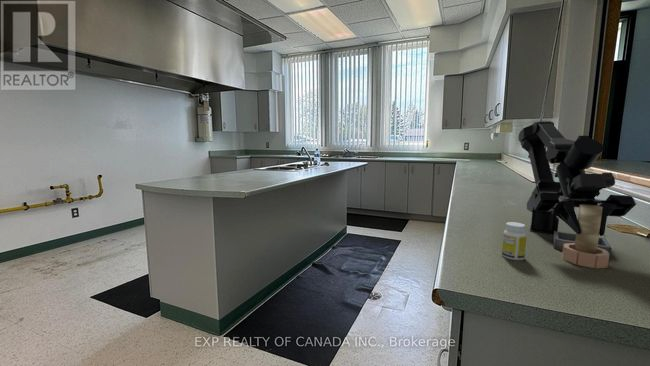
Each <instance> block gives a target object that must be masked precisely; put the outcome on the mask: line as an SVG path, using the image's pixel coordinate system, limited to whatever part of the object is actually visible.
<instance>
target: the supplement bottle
mask: <svg viewBox="0 0 650 366" xmlns="http://www.w3.org/2000/svg"><path fill="white" fill-rule="evenodd" d="M525 231H526V224H524V223H521V222H515V221H507V222H506V223H505V230H503V233H502V234H503V235H502V237H503V238H502V250H501V255H502V256H503V257H504V258H506V259H509V260H513V261H523V260H525V257H526V244H527V243H526V242H527V233H526V232H525Z"/></svg>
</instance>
